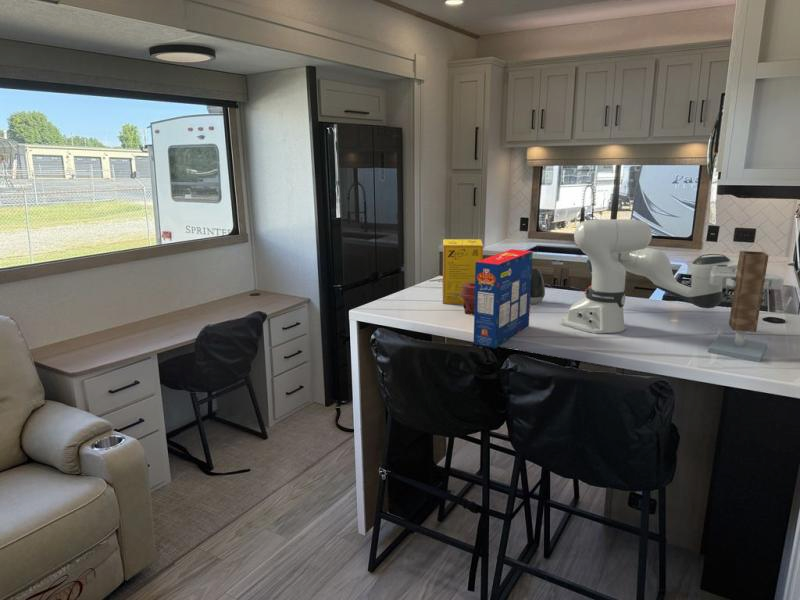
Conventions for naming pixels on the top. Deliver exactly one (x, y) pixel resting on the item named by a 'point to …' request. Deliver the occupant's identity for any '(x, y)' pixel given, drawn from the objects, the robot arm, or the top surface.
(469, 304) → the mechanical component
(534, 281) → the dark gray domed cylinder
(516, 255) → the blue food box
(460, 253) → the packaging box
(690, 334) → the top surface
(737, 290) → the walnut sleeve
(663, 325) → the top surface
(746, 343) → the base plate
